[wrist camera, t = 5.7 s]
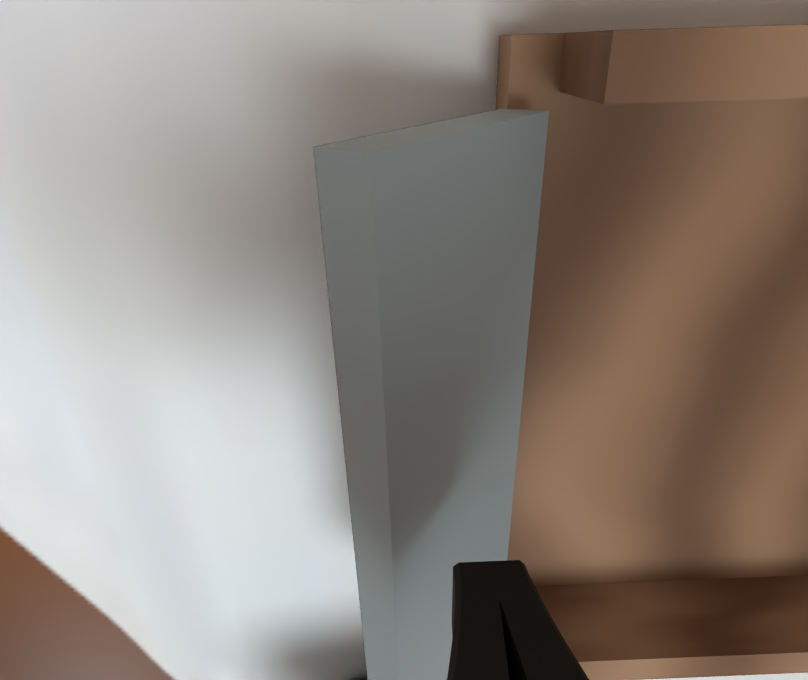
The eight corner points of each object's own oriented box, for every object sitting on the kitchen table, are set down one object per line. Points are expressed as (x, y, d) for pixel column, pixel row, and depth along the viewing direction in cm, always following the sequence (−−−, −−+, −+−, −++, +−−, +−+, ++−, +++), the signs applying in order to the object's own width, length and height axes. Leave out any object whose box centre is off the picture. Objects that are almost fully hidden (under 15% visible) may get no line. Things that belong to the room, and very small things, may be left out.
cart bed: (1135, 16, 14) (1438, 4, 10) (846, 560, 23) (940, 666, 19) (499, 35, 14) (545, 32, 10) (472, 575, 23) (490, 686, 19)
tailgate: (549, 110, 12) (370, 153, 8) (502, 605, 20) (402, 753, 16) (471, 107, 13) (280, 143, 9) (457, 577, 21) (353, 708, 17)
